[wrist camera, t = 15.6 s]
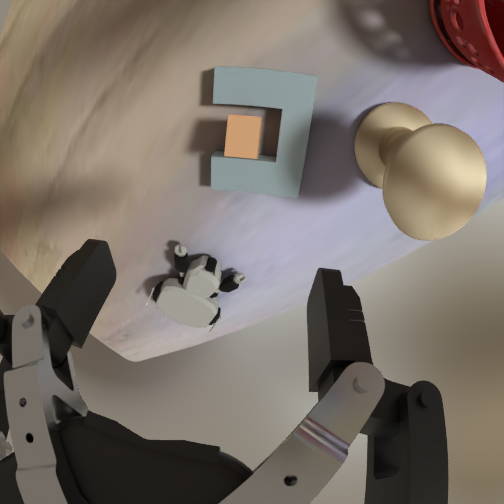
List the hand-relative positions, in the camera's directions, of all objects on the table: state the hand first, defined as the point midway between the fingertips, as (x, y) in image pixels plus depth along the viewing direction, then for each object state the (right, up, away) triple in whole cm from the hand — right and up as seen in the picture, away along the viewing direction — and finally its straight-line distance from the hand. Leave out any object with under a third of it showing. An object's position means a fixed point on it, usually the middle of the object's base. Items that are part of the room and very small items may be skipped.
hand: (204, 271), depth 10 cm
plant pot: (+26, +27, +5) cm, 38 cm away
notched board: (+3, +14, +18) cm, 23 cm away
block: (+1, +13, +18) cm, 22 cm away
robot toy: (-7, -4, +34) cm, 35 cm away
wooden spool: (+19, +13, +17) cm, 28 cm away
